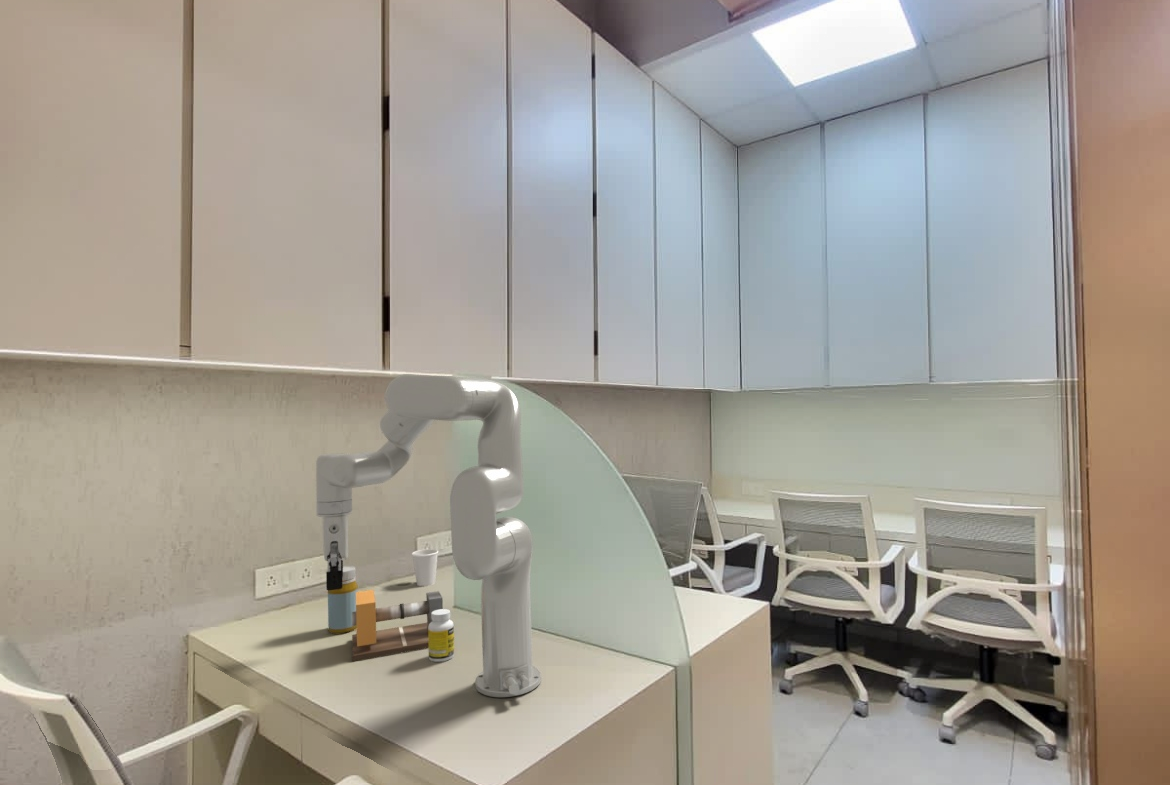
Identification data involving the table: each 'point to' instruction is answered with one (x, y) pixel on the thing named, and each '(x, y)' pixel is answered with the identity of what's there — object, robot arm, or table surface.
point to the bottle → (343, 603)
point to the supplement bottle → (441, 636)
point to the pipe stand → (399, 629)
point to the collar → (366, 618)
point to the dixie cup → (425, 566)
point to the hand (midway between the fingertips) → (335, 583)
